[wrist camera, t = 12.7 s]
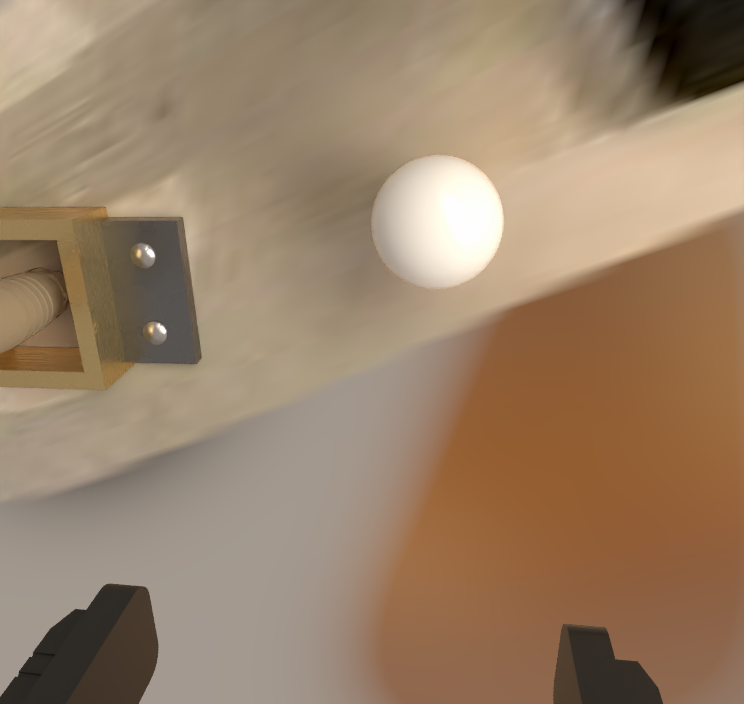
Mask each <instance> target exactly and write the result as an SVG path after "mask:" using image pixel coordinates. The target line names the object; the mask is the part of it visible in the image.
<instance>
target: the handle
mask: <svg viewBox="0 0 744 704" xmlns="http://www.w3.org/2000/svg"><path fill="white" fill-rule="evenodd" d="M68 300H69V297H68V293H67V288H66V283H65V278H64V274H63V273H61V272H60V271H57V272H50V271H47V270H45V269H44V268H35V269H32V270H28V271H26V272H25V273H20V274H16V275H13V276H9V277H6V278H4V279H1V280H0V354H1V353H3V352H5V351H7V350H9V349H11V348H13V347H15V346H17V345H19V344H20V343H22V342H24V341H25V340H27V339H28V338H30V337H31V336H33V335H34V334H36V333H37V332H38V331H40V330H41V329H43V328H44V327H45V326H47V325H48V324H49V323H50V322H51V321H52V320H53V319H54V318H56V317H58V316H59V315H60V314H62V313H63V312H64V311H65V310H66V304H67V301H68Z"/></svg>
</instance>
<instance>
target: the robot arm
mask: <svg viewBox="0 0 744 704" xmlns="http://www.w3.org/2000/svg"><path fill="white" fill-rule="evenodd" d="M157 658H158V639H157V634H156V629H155V623H154V617H153V612H152V606H151V601H150V595H149V592H148V590H147V588H146V587H143V586H130V585H119V584H106V585H105V586H103V587H102V589H101V590H100V591H99V593H98V594H97V595H96V597H95V598H94V600H93V601H92V603H91V604H90V605H89V607H88V608H87V610H79V609H75V610H74V611H72V612H71V613H70V614H69V615H67V616H66V617H65V618H63V619H62V620H61V621H60V622H58V623H57V624H56V625H55V626H53V627H52V628H51V629H50V630H49V632H48V633H47V634H46V635H45V637H44V638H43V640H42V641H41V642H40V644H39V645H38V646H37V648H36V649H35V651H34V652H33V656H32V657H29V659H28V660H27V661H26V663H25V664H24V666H23V667H22V668H21V670H20V671H19V675H18V677H15V678H14V679H13V680H12V682H11V683H10V685H9V686H8V687H7V689H6V690H5V691H4V693H3V694H2V695H1V697H0V704H139V702H140V700H141V698H142V696H143V694H144V692H145V690H146V688H147V686H148V684H149V682H150V680H151V678H152V676H153V673H154V670H155V667H156V663H157ZM553 694H554V695H553V697H554V698H553V700H554V704H663V702H662V699H661V695H660V692H659V689H658V687H657V686H656V685H655V683H654V682H653V681H652V679H651V678H650V677H649V676H648V674H647V673H646V672H645V670H644V669H643V668H642V667H641V665H640V664H639V663H638V662H637V661H626V660H615V656H614V653H613V649H612V645H611V642H610V638H609V634H608V632H607V630H606V628H605V627H595V626H583V625H572V624H563V626H562V630H561V636H560V643H559V650H558V658H557V665H556V672H555V680H554V692H553Z"/></svg>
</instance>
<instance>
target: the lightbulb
mask: <svg viewBox="0 0 744 704" xmlns="http://www.w3.org/2000/svg"><path fill="white" fill-rule="evenodd" d="M503 228H504V214H503V208H502V203H501V200H500V197H499V195H498V192H497V190H496V188H495V187H494V185H493V183H492V182H491V181H490V179H489V178H488V177H487V176H486V175H485V174H484V173H483V172H482V171H481V170H480V169H479V168H477V167H476V166H474V165H473V164H471V163H469V162H468V161H465V160H463V159H461V158H458V157H454V156H449V155H428V156H423V157H420V158H417V159H414V160H412V161H409V162H407V163H406V164H404V165H402V166H401V167H399V168H398V169H397V170H396V171H394V172H393V173H392V174H391V175H390V176H389V177H388V179H387V180H386V181H385V182H384V184H383V185H382V187H381V188H380V190H379V192H378V194H377V196H376V199H375V201H374V204H373V208H372V214H371V233H372V238H373V242H374V245H375V248H376V250H377V253H378V254H379V256H380V258H381V260H382V261H383V263H384V264H385V265H386V266H387V268H388V269H389V270H390V271H391V272H392V273H393V274H395V275H396V276H397V277H399V278H400V279H401V280H403V281H405V282H407V283H409V284H411V285H414V286H416V287H420V288H424V289H433V290H439V289H448V288H452V287H456V286H459V285H461V284H463V283H466V282H468V281H469V280H471V279H473V278H474V277H475V276H477V275H478V274H479V273H480V272H482V271H483V270H484V269H485V268H486V266H487V265H488V264H489V263H490V261H491V260H492V259H493V257H494V255H495V254H496V252H497V250H498V247H499V245H500V242H501V239H502V234H503Z"/></svg>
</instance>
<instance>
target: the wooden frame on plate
mask: <svg viewBox="0 0 744 704" xmlns="http://www.w3.org/2000/svg"><path fill="white" fill-rule="evenodd" d="M0 240H57V245H58V250H59V254H60V259H61V264H62V269H63V274H64V278H65V283H66V288H67V293H68V297H69V302H70V307H71V312H72V316H73V321H74V326H75V331H76V336H77V340H78V345H79V348H62V347H19V346H15V347H13V348H11V349H9V350H7V351H5V352H3V353H1V354H0V387H24V388H56V389H88V390H106V389H107V388H108V387H109V386H111V385H112V384H113V383H114V382H115V381H116V380H117V379H119V378H120V377H121V376H122V375H123V374H124V373H125V372H126V371H128V370H129V369H130V368H131V367H132V366H133V365H134V364H133V362H137V363H176V364H197V363H198V362H199V361H200V359H201V358H202V357H201V350H200V342H199V335H198V327H197V320H196V313H195V305H194V298H193V290H192V283H191V275H190V268H189V260H188V253H187V245H186V238H185V230H184V223H183V217H107V212H106V207H11V208H0Z"/></svg>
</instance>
